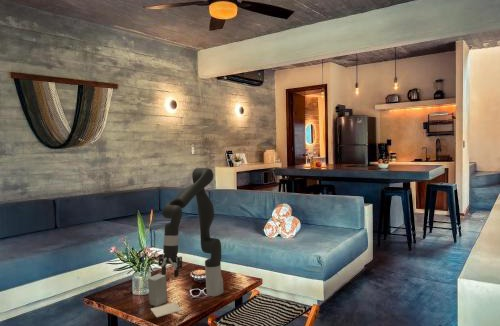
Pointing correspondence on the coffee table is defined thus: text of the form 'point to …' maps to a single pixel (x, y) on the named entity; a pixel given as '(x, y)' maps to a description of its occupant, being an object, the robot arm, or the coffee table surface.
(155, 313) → the mat
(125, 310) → the coffee table surface
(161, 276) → the skincare box
